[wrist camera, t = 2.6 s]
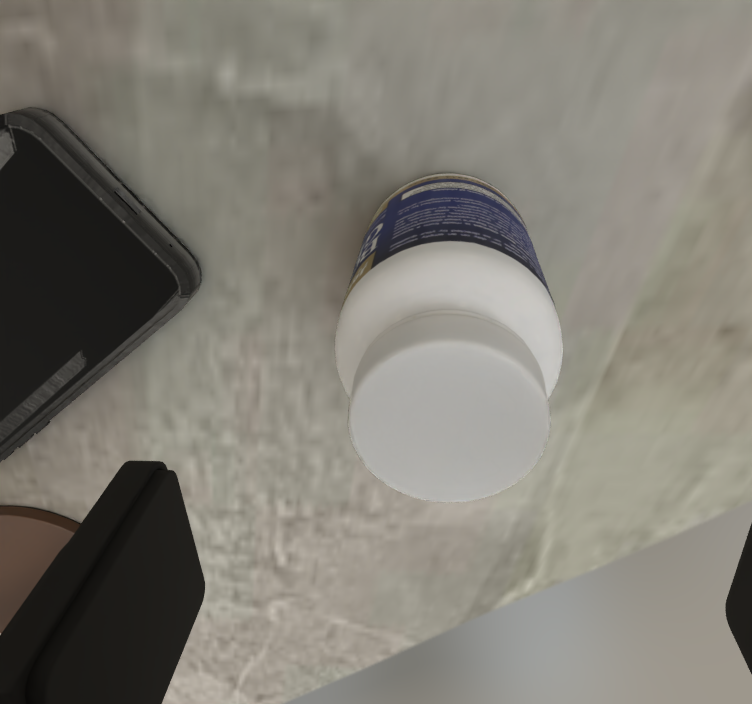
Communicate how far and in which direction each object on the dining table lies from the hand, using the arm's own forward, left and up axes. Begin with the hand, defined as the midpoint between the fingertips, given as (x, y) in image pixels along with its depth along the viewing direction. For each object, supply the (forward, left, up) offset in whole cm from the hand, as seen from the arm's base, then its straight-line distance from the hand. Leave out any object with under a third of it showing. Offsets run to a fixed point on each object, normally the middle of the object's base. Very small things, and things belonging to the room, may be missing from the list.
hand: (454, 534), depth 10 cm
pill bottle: (0, 0, -12) cm, 12 cm away
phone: (-10, -13, -12) cm, 20 cm away
